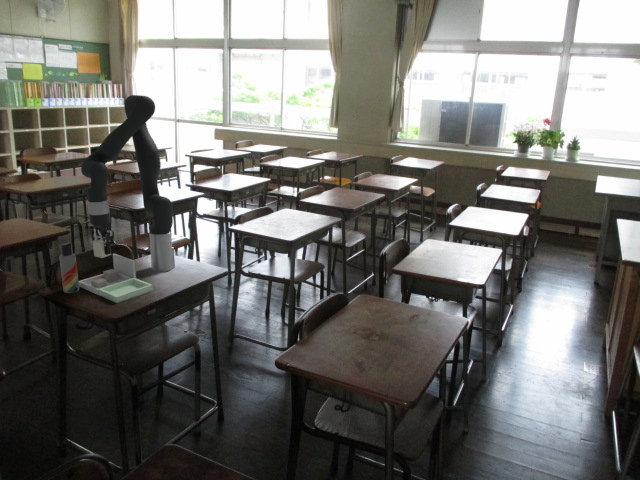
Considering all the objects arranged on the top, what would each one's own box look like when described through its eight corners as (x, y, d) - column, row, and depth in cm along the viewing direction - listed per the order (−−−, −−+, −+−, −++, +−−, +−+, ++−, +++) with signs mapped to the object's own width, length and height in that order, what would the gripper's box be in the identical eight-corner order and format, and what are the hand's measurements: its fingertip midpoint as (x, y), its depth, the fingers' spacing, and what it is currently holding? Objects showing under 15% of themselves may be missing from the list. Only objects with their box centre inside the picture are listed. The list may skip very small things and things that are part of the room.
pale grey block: (100, 287, 206) (100, 277, 205) (107, 289, 204) (106, 280, 203) (92, 290, 203) (91, 280, 202) (98, 292, 201) (97, 283, 200)
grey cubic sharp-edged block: (112, 277, 216) (111, 268, 215) (118, 280, 214) (117, 271, 213) (104, 280, 213) (103, 271, 212) (110, 282, 211) (109, 273, 209)
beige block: (103, 252, 207) (101, 238, 206) (111, 254, 206) (109, 240, 204) (94, 256, 204) (92, 241, 202) (102, 257, 202) (100, 243, 200)
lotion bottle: (75, 294, 200) (69, 245, 194) (60, 293, 200) (54, 245, 194) (82, 288, 205) (76, 241, 199) (68, 288, 205) (62, 240, 199)
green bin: (134, 284, 211) (134, 277, 210) (153, 291, 205) (152, 284, 204) (99, 296, 199) (98, 289, 198) (117, 304, 192) (116, 297, 191)
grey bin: (113, 276, 219) (113, 270, 218) (133, 284, 211) (133, 278, 211) (78, 287, 207) (77, 281, 206) (98, 296, 199) (97, 290, 198)
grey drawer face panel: (117, 275, 220) (115, 253, 217) (137, 283, 213) (135, 260, 210) (114, 276, 219) (112, 253, 216) (134, 284, 212) (132, 261, 209)
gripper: (118, 212, 199) (122, 254, 204) (97, 206, 207) (102, 246, 212) (100, 216, 193) (105, 259, 198) (79, 210, 201) (85, 251, 206)
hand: (103, 252), depth 205 cm, fingers closed on beige block, 4 cm apart
